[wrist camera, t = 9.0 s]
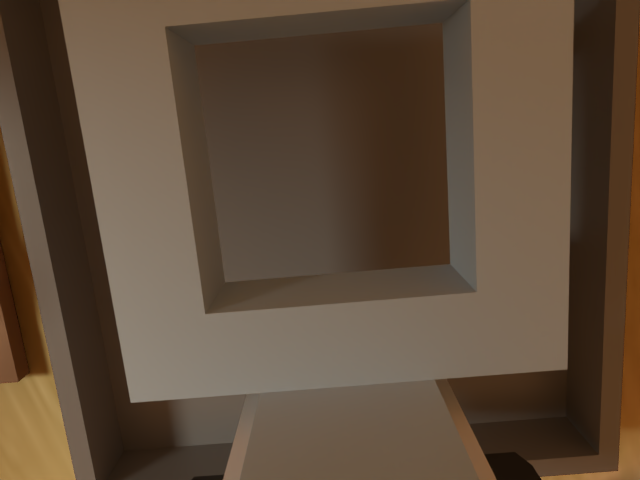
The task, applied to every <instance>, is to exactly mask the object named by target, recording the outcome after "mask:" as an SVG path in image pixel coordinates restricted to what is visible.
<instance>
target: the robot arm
mask: <svg viewBox="0 0 640 480" xmlns="http://www.w3.org/2000/svg"><path fill="white" fill-rule="evenodd" d="M435 381H436V384H437V386H438V388H439V390H440V393H441V395H442V397H443V399H444V402H445V404H446V406H447V408H448V410H449V413H450V415H451V417H452V419H453V422H454V424H455V426H456V428H457V431H458V433H459V435H460V437H461V440H462V442H463V444H464V446H465V449H466V451H467V453H468V455H469V458H470V460H471V462H472V464H473V467H474V469H475V471H476V473H477V476H478V478H479V480H541V478H540V477H539V475H538V473H537V472H536V470H535V469H534V467H533V465H531V464H530V463H529V462H527V461H526V460H525V459H524V458H522V457H521V456H520V455H518V454H517V453H516V452H506V453H492V454H484V453H483V451H482V449H481V447H480V445H479V443H478V441H477V439H476V437H475V435H474V433H473V431H472V429H471V427H470V425H469V423H468V421H467V419H466V417H465V415H464V413H463V411H462V409H461V407H460V405H459V403H458V401H457V399H456V397H455V395H454V393H453V391H452V389H451V387H450V385H449V383H448V381H447V379H435ZM259 395H260V393H253V394H247V395H246V399H245V402H244V406H243V410H242V413H241V417H240V420H239V424H238V427H237V431H236V435H235V438H234V442H233V445H232V449H231V453H230V456H229V460H228V463H227V467H226V470H225V474H224V475H211V476H197V477H193V478H192V480H240V476H241V472H242V468H243V463H244V459H245V455H246V451H247V446H248V442H249V438H250V433H251V429H252V425H253V421H254V416H255V412H256V408H257V404H258V399H259Z"/></svg>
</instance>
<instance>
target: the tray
mask: <svg viewBox="0 0 640 480" xmlns="http://www.w3.org/2000/svg"><path fill="white" fill-rule="evenodd" d="M639 15H640V0H574V30H573V86H572V143H571V199H570V255H569V312H568V368H567V369H566V370H553V371H540V372H527V373H514V374H501V375H488V376H475V377H462V378H448V379H447V381H448V383H449V385H450V387H451V389H452V391H453V393H454V395H455V397H456V399H457V401H458V403H459V405H460V407H461V409H462V411H463V413H464V415H465V417H466V419H467V421H468V423H469V425H470V427H471V429H472V431H473V433H474V435H475V437H476V439H477V441H478V443H479V445H480V447H481V449H482V451H483V453H484V454H492V453H506V452H516V453H517V454H518V455H520V456H521V457H522V458H524V459H525V460H526V461H527V462H529V463H530V464H531V465H533V467H534V469H535V470H536V472H537V473H538V475H539V477H543V476H556V475H569V474H582V473H596V472H609V471H618V461H619V439H620V418H621V397H622V376H623V354H624V333H625V312H626V291H627V270H628V248H629V227H630V206H631V185H632V163H633V142H634V121H635V100H636V78H637V57H638V36H639ZM194 47H195V55H196V63H197V70H198V78H199V86H200V93H201V101H202V109H203V116H204V124H205V132H206V139H207V147H208V155H209V162H210V170H211V178H212V185H213V193H214V201H215V208H216V216H217V224H218V231H219V239H220V247H221V254H222V262H223V270H224V277H225V282H235V281H248V280H260V279H272V278H284V277H297V276H309V275H321V274H333V273H346V272H358V271H370V270H383V269H395V268H407V267H419V266H432V265H444V264H450V240H449V210H448V180H447V149H446V119H445V89H444V59H443V29H442V23H434V24H423V25H413V26H402V27H391V28H380V29H369V30H358V31H347V32H337V33H326V34H315V35H304V36H293V37H282V38H271V39H261V40H250V41H239V42H228V43H217V44H206V45H196V46H194ZM0 126H1V131H2V136H3V140H4V145H5V150H6V154H7V159H8V164H9V168H10V173H11V178H12V182H13V187H14V192H15V197H16V201H17V206H18V211H19V215H20V220H21V225H22V229H23V234H24V239H25V243H26V248H27V253H28V257H29V262H30V267H31V271H32V276H33V281H34V286H35V290H36V295H37V300H38V304H39V309H40V314H41V318H42V323H43V328H44V332H45V337H46V342H47V346H48V351H49V356H50V360H51V365H52V370H53V375H54V379H55V384H56V389H57V393H58V398H59V403H60V407H61V412H62V417H63V421H64V426H65V431H66V435H67V440H68V445H69V449H70V454H71V459H72V464H73V468H74V473H75V478H76V480H192V478H193V477H197V476H211V475H224V474H225V470H226V467H227V463H228V460H229V456H230V453H231V449H232V445H233V442H234V438H235V435H236V431H237V427H238V424H239V420H240V417H241V413H242V410H243V406H244V402H245V399H246V395H247V394H240V395H227V396H213V397H200V398H187V399H174V400H161V401H148V402H135V403H131V401H130V396H129V390H128V385H127V379H126V374H125V368H124V363H123V357H122V352H121V346H120V341H119V335H118V329H117V324H116V318H115V313H114V307H113V302H112V296H111V291H110V285H109V280H108V274H107V269H106V263H105V257H104V252H103V246H102V241H101V235H100V230H99V224H98V219H97V213H96V208H95V202H94V197H93V191H92V185H91V180H90V174H89V169H88V163H87V158H86V152H85V147H84V141H83V136H82V130H81V125H80V119H79V114H78V108H77V102H76V97H75V91H74V86H73V80H72V75H71V69H70V64H69V58H68V53H67V47H66V42H65V36H64V30H63V25H62V19H61V14H60V8H59V3H58V0H0Z"/></svg>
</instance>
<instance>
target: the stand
mask: <svg viewBox="0 0 640 480" xmlns="http://www.w3.org/2000/svg"><path fill="white" fill-rule="evenodd" d="M28 373H29V368H28V364H27V359H26V355H25V350H24V346H23V341H22V337H21V332H20V328H19V323H18V319H17V314H16V310H15V306H14V301H13V297H12V292H11V288H10V283H9V279H8V274H7V270H6V265H5V261H4V257H3V252H2V248H1V243H0V383H11V382H19V381H20V380H21V379H22V378H23V377H25V376H26V375H27V374H28Z"/></svg>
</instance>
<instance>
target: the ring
mask: <svg viewBox="0 0 640 480" xmlns="http://www.w3.org/2000/svg"><path fill="white" fill-rule="evenodd" d="M58 3H59V8H60V14H61V19H62V25H63V30H64V36H65V42H66V47H67V53H68V58H69V64H70V69H71V75H72V80H73V86H74V91H75V97H76V102H77V108H78V114H79V119H80V125H81V130H82V136H83V141H84V147H85V152H86V158H87V163H88V169H89V174H90V180H91V185H92V191H93V197H94V202H95V208H96V213H97V219H98V224H99V230H100V235H101V241H102V246H103V252H104V257H105V263H106V269H107V274H108V280H109V285H110V291H111V296H112V302H113V307H114V313H115V318H116V324H117V329H118V335H119V341H120V346H121V352H122V357H123V363H124V368H125V374H126V379H127V385H128V390H129V396H130V401H131V403H135V402H148V401H161V400H174V399H187V398H200V397H213V396H227V395H240V394H253V393H260V395H259V399H258V404H257V408H256V412H255V416H254V421H253V425H252V429H251V433H250V438H249V442H248V446H247V451H246V455H245V459H244V463H243V468H242V472H241V476H240V480H479V478H478V476H477V473H476V471H475V469H474V467H473V464H472V462H471V460H470V458H469V455H468V453H467V451H466V449H465V446H464V444H463V442H462V440H461V437H460V435H459V433H458V431H457V428H456V426H455V424H454V422H453V419H452V417H451V415H450V413H449V410H448V408H447V406H446V404H445V402H444V399H443V397H442V395H441V393H440V390H439V388H438V386H437V384H436V381H435V379H448V378H462V377H475V376H488V375H501V374H514V373H527V372H540V371H553V370H566V369H567V368H568V312H569V255H570V199H571V143H572V86H573V30H574V0H58ZM434 23H442V29H443V59H444V89H445V119H446V149H447V180H448V210H449V240H450V264H444V265H432V266H419V267H407V268H395V269H383V270H370V271H358V272H346V273H333V274H321V275H309V276H297V277H284V278H272V279H260V280H248V281H235V282H225V277H224V270H223V262H222V254H221V247H220V239H219V231H218V224H217V216H216V208H215V201H214V193H213V185H212V178H211V170H210V162H209V155H208V147H207V139H206V132H205V124H204V116H203V109H202V101H201V93H200V86H199V78H198V70H197V63H196V55H195V47H194V46H196V45H206V44H217V43H228V42H239V41H250V40H261V39H271V38H282V37H293V36H304V35H315V34H326V33H337V32H347V31H358V30H369V29H380V28H391V27H402V26H413V25H423V24H434Z"/></svg>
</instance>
